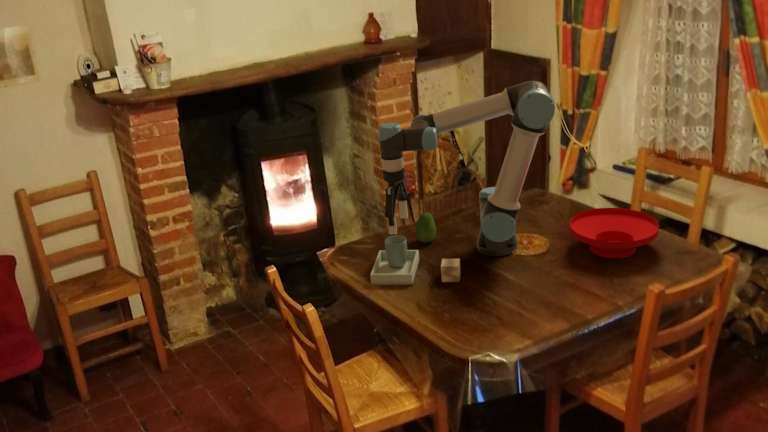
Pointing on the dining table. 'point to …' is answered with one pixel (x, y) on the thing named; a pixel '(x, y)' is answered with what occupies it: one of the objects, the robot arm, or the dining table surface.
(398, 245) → the cup
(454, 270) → the beech block
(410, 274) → the tray
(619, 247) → the bowl
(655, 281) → the dining table surface
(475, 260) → the dining table surface
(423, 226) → the avocado
